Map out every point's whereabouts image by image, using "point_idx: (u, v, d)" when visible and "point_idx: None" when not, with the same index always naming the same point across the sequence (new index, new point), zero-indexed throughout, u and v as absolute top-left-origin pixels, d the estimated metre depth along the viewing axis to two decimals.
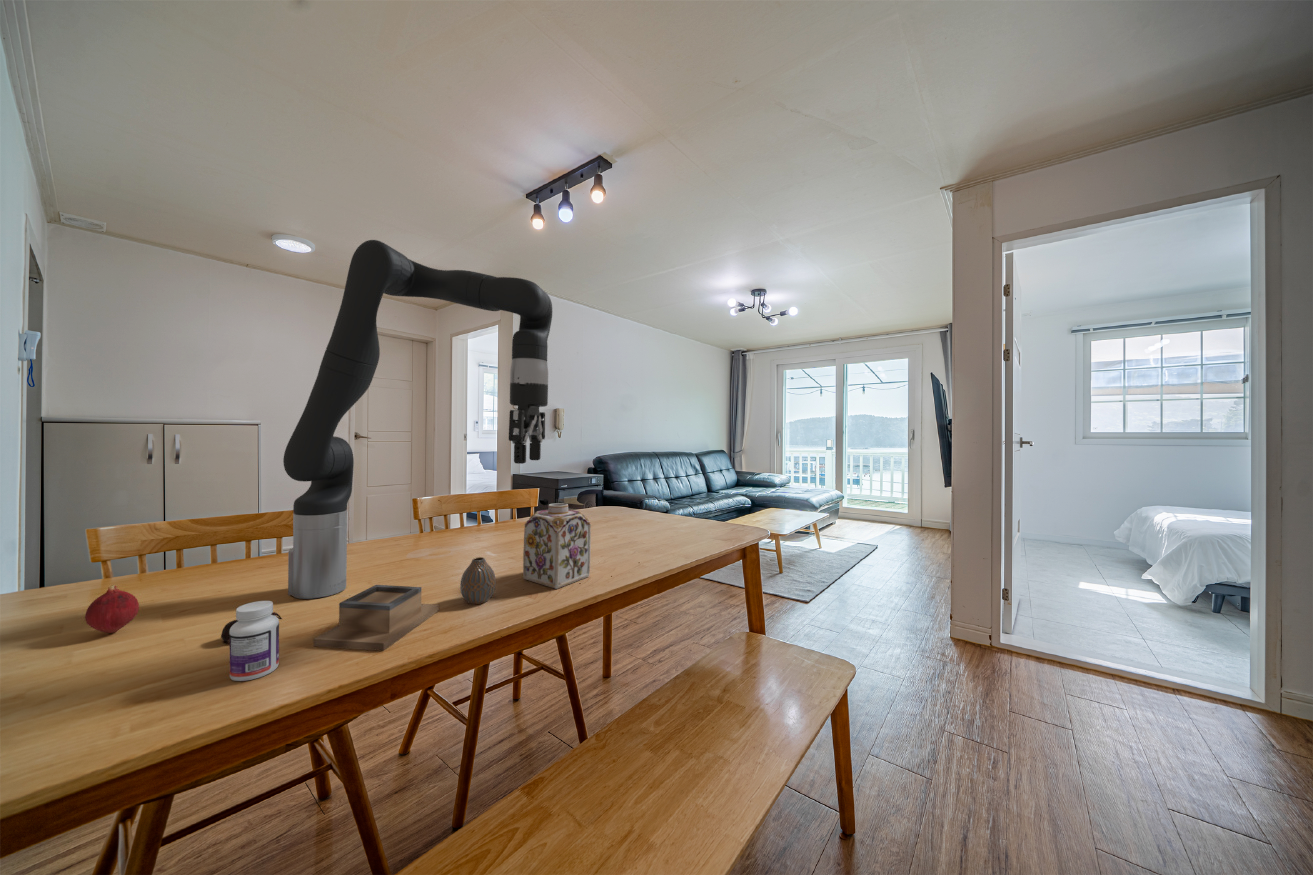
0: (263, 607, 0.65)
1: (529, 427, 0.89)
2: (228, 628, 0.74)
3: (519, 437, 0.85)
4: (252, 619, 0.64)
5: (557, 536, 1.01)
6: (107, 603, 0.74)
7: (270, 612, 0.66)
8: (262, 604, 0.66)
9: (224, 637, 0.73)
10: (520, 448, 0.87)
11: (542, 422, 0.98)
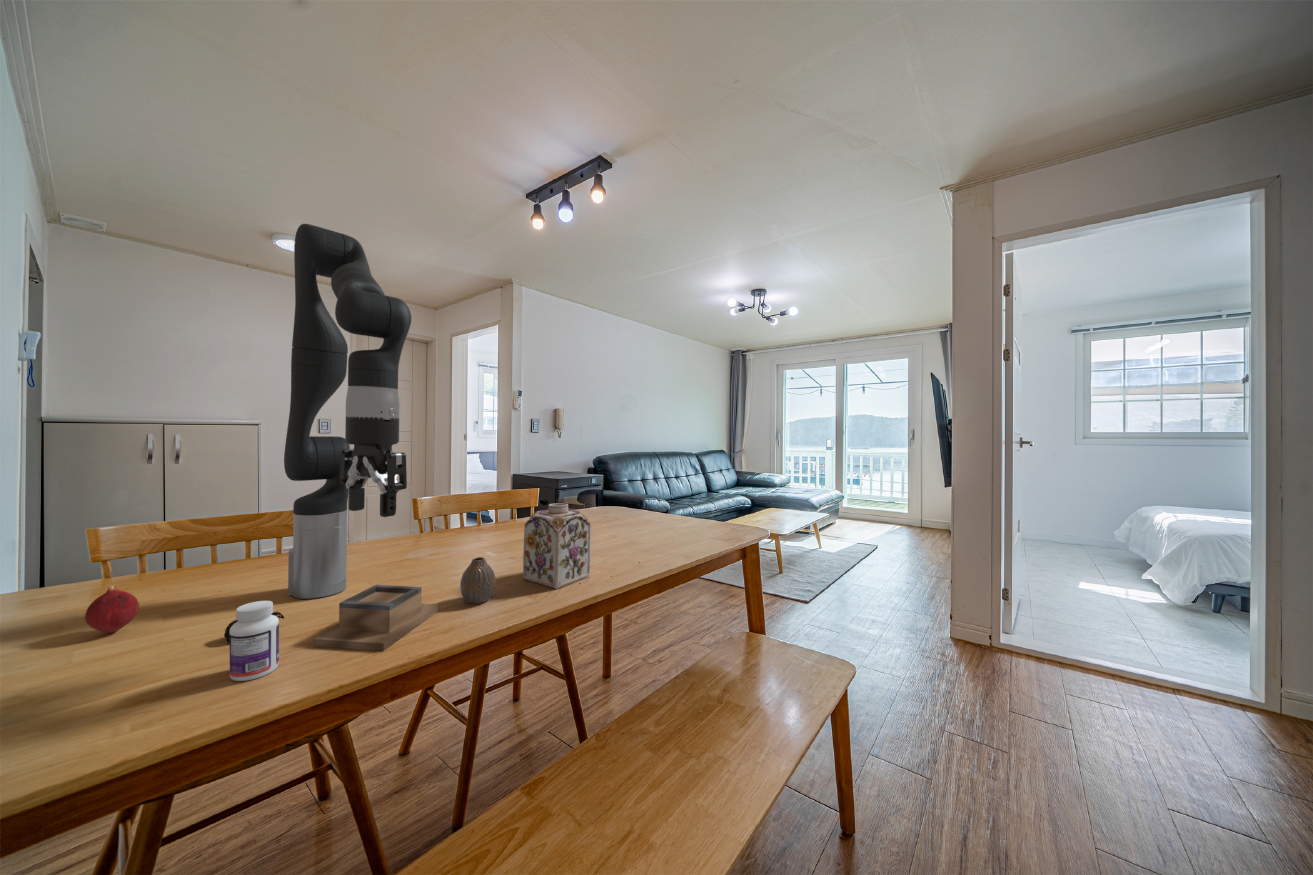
0: (263, 606, 0.65)
1: None
2: None
3: (405, 485, 0.72)
4: (252, 619, 0.64)
5: (557, 536, 1.01)
6: (106, 603, 0.74)
7: (270, 612, 0.66)
8: (262, 604, 0.66)
9: (227, 636, 0.73)
10: (394, 498, 0.73)
11: None
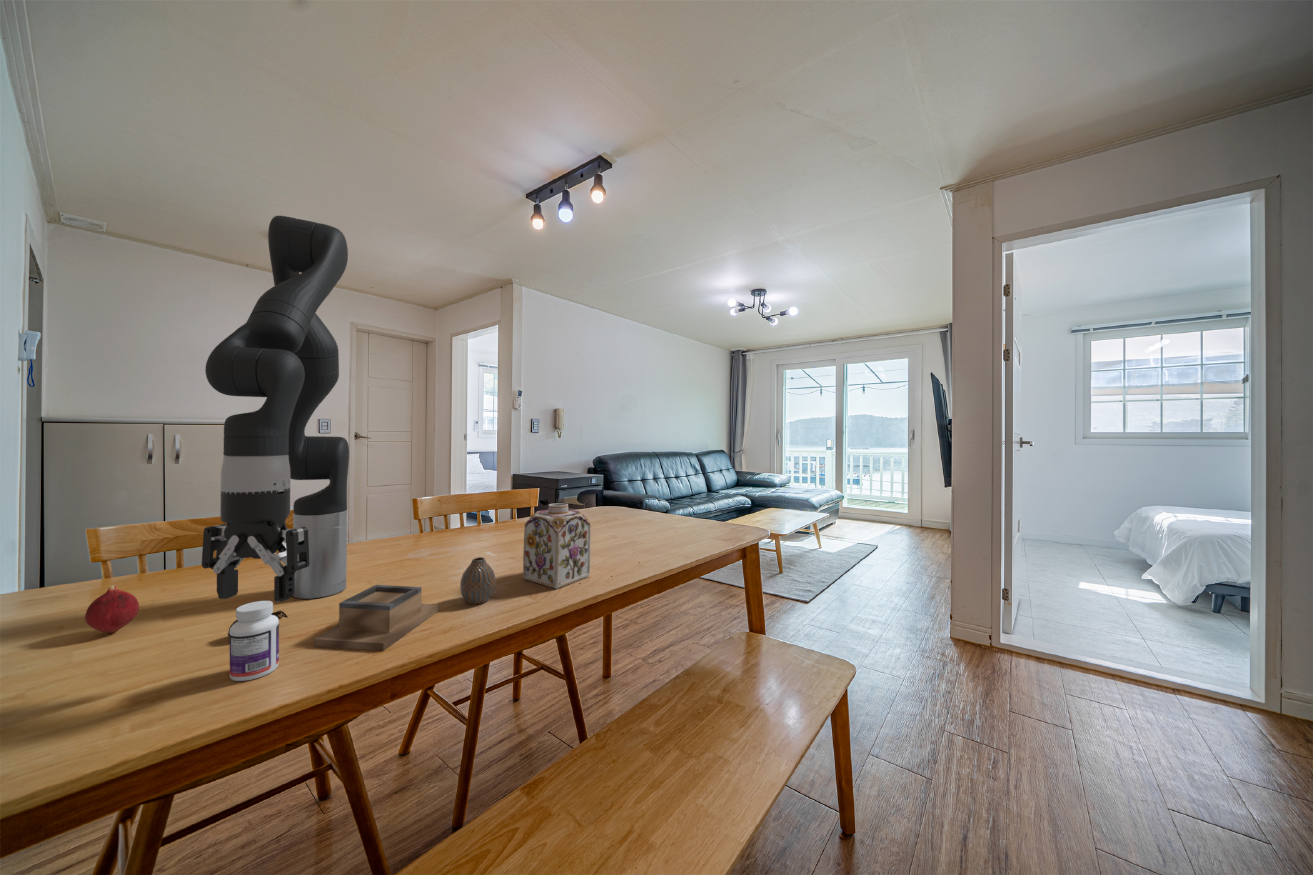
0: (263, 607, 0.65)
1: None
2: None
3: (307, 563, 0.65)
4: (252, 619, 0.64)
5: (557, 536, 1.01)
6: (107, 603, 0.74)
7: (270, 612, 0.66)
8: (262, 604, 0.66)
9: None
10: (292, 578, 0.65)
11: (226, 539, 0.66)
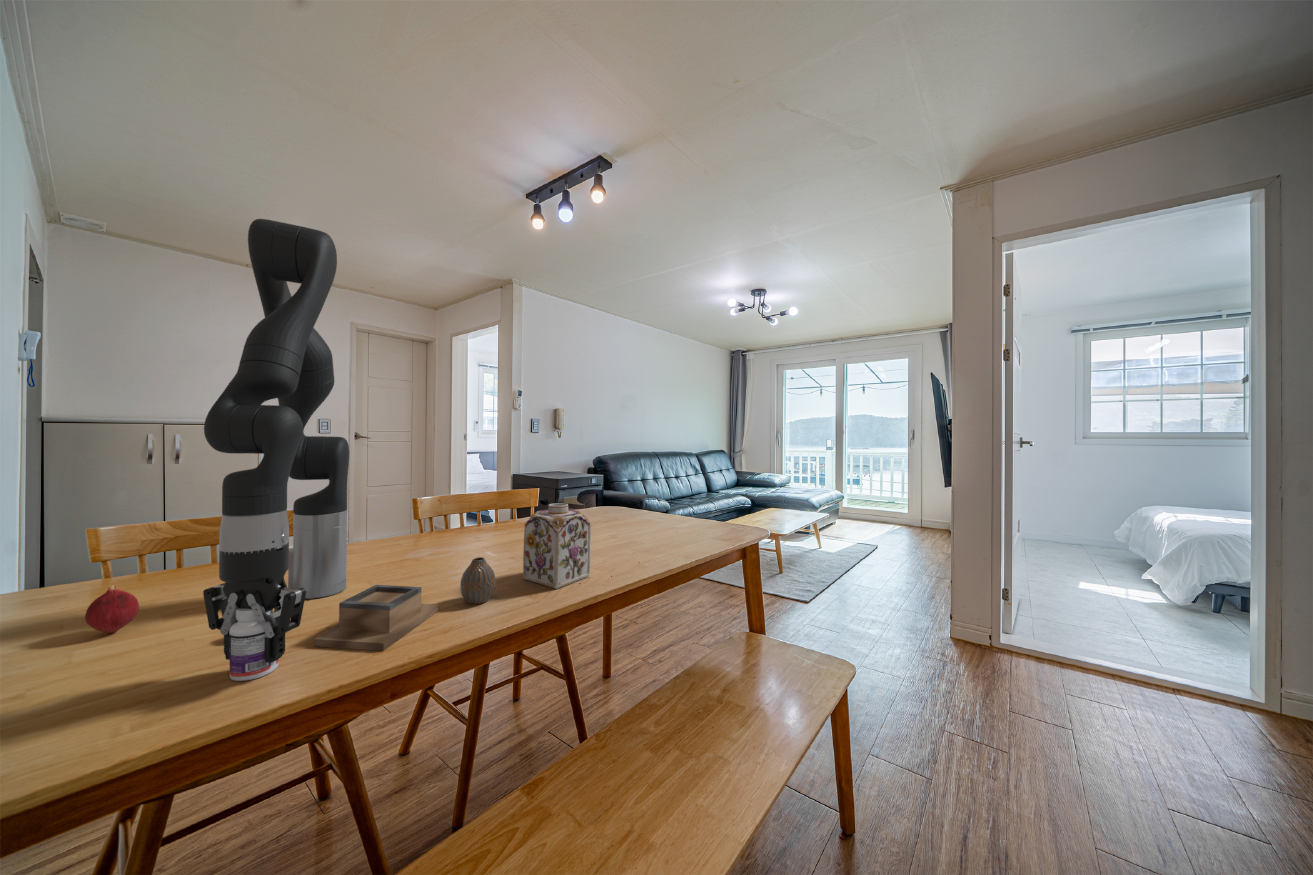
0: None
1: None
2: None
3: (298, 623, 0.66)
4: (252, 619, 0.64)
5: (557, 536, 1.01)
6: (107, 603, 0.74)
7: (270, 612, 0.66)
8: None
9: None
10: (283, 638, 0.66)
11: None
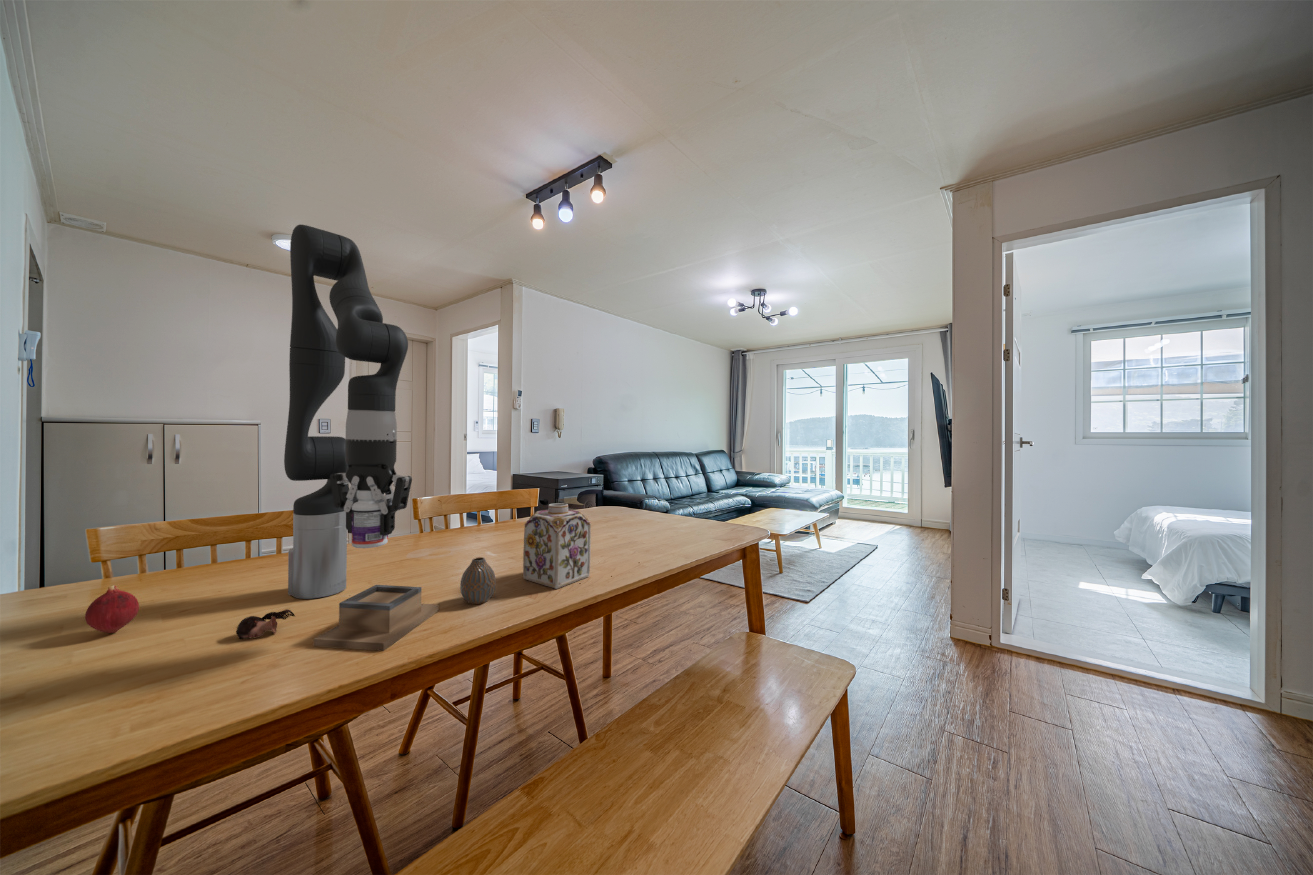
0: None
1: (392, 491, 0.80)
2: (243, 624, 0.75)
3: (405, 504, 0.79)
4: (370, 498, 0.77)
5: (557, 536, 1.01)
6: (107, 603, 0.74)
7: None
8: None
9: (239, 633, 0.74)
10: (393, 517, 0.79)
11: (347, 484, 0.80)
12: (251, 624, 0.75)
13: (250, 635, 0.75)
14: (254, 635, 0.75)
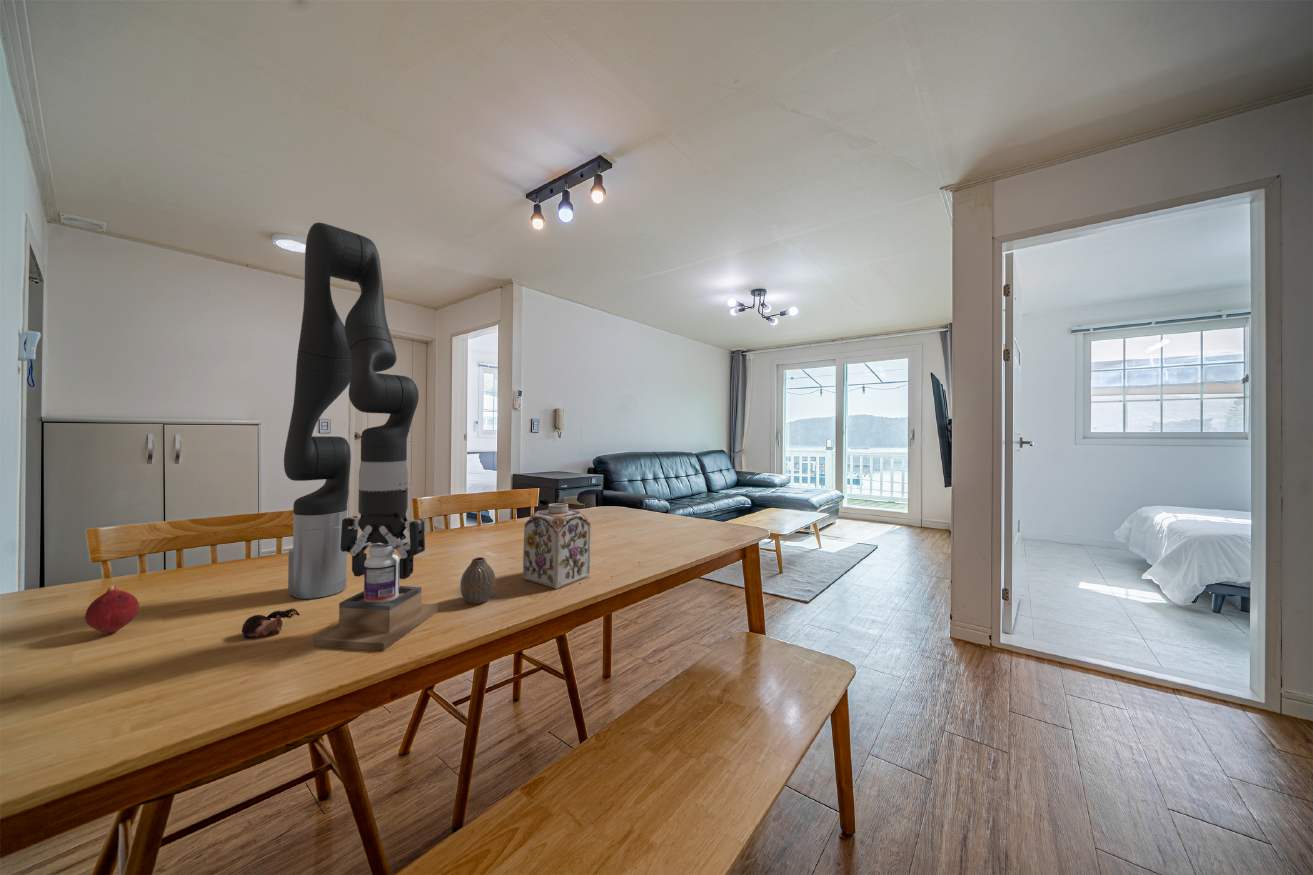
0: (389, 545, 0.80)
1: (406, 535, 0.82)
2: (248, 623, 0.76)
3: (423, 548, 0.81)
4: (382, 555, 0.79)
5: (557, 536, 1.01)
6: (107, 603, 0.74)
7: (394, 550, 0.81)
8: (387, 544, 0.81)
9: (244, 632, 0.75)
10: (412, 560, 0.81)
11: None
12: (256, 622, 0.76)
13: (255, 634, 0.75)
14: (259, 634, 0.76)
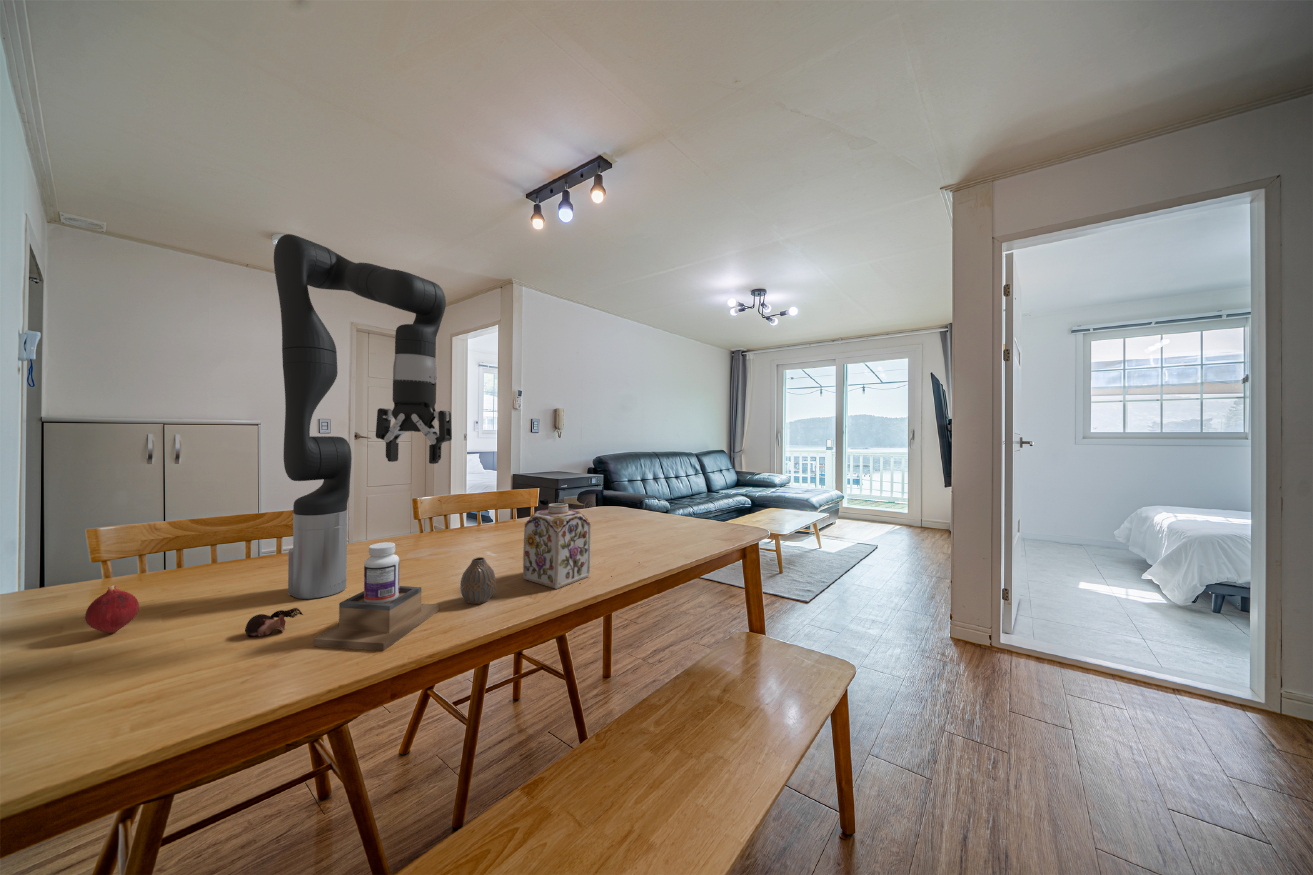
0: (389, 545, 0.80)
1: (435, 427, 0.90)
2: (252, 622, 0.76)
3: (450, 437, 0.89)
4: (383, 555, 0.79)
5: (557, 536, 1.01)
6: (106, 603, 0.74)
7: (394, 550, 0.81)
8: (387, 544, 0.81)
9: (248, 631, 0.75)
10: (440, 448, 0.88)
11: (389, 419, 0.90)
12: (259, 622, 0.76)
13: (258, 633, 0.76)
14: (262, 633, 0.76)
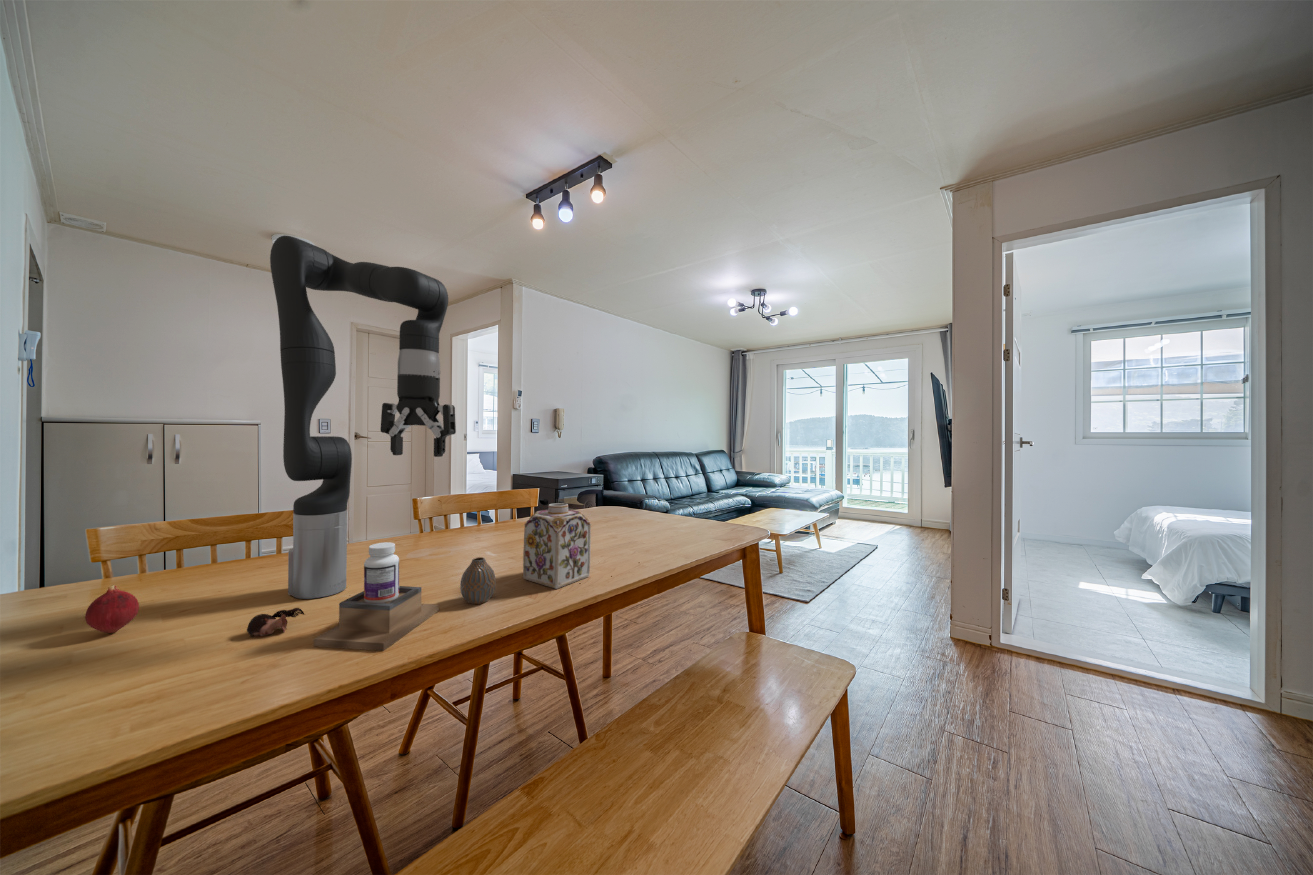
0: (389, 545, 0.80)
1: (439, 421, 0.91)
2: (253, 622, 0.76)
3: (455, 431, 0.90)
4: (382, 555, 0.79)
5: (557, 536, 1.01)
6: (107, 603, 0.74)
7: (394, 550, 0.81)
8: (387, 544, 0.81)
9: (249, 631, 0.75)
10: (444, 441, 0.90)
11: (394, 414, 0.91)
12: (261, 621, 0.76)
13: (260, 633, 0.76)
14: (264, 633, 0.76)
